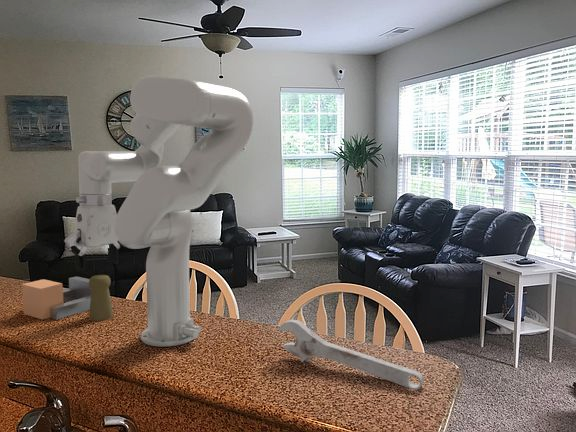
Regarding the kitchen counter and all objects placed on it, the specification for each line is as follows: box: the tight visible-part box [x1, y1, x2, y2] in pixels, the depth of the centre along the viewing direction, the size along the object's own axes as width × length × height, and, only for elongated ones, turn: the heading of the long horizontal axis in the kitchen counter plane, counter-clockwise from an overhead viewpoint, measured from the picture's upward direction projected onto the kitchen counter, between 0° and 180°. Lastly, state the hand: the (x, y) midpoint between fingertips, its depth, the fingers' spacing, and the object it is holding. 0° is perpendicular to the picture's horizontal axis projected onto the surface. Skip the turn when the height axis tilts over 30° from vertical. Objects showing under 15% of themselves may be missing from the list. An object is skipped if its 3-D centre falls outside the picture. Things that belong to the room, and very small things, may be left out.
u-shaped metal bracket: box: [50, 276, 92, 321], centre depth 131 cm, size 14×16×6 cm
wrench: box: [278, 318, 425, 390], centre depth 93 cm, size 8×2×30 cm
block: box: [21, 279, 64, 320], centre depth 125 cm, size 8×6×8 cm
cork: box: [88, 274, 114, 322], centre depth 123 cm, size 6×6×11 cm
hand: (97, 266), depth 122 cm, fingers open, 9 cm apart
